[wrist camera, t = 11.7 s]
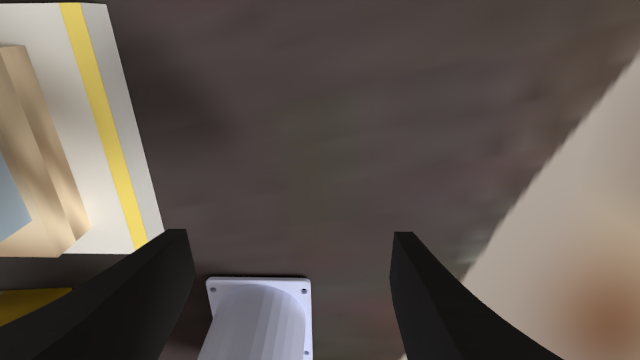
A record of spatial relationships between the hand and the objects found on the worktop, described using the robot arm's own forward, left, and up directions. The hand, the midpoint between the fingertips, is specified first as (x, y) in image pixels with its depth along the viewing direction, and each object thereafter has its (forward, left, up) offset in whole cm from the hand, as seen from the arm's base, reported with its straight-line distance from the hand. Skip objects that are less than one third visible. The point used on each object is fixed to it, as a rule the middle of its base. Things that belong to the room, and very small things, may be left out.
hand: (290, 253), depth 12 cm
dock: (+1, +17, -10) cm, 20 cm away
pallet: (+1, +17, -8) cm, 19 cm away
